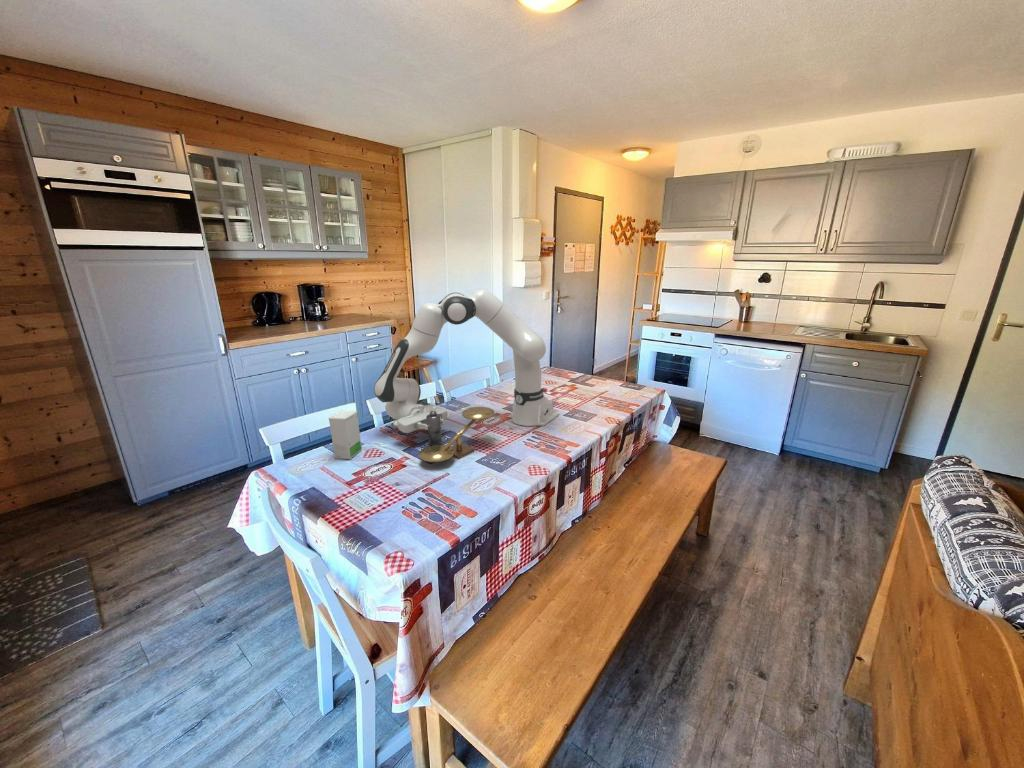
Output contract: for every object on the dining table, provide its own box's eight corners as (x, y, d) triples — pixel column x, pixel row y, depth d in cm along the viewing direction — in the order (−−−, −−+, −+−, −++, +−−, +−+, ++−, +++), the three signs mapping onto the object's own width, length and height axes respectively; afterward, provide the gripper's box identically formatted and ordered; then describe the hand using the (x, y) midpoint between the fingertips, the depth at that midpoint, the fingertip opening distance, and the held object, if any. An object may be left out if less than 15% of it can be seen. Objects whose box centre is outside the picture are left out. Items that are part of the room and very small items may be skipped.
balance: (480, 433, 165) (479, 404, 161) (501, 442, 157) (500, 411, 153) (412, 462, 142) (409, 429, 138) (434, 474, 134) (431, 439, 131)
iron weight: (436, 438, 159) (434, 408, 155) (444, 442, 156) (442, 411, 152) (425, 442, 156) (423, 412, 152) (434, 446, 152) (431, 415, 149)
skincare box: (350, 460, 144) (344, 419, 139) (333, 458, 145) (327, 417, 141) (362, 449, 152) (357, 410, 147) (346, 448, 153) (341, 409, 149)
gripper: (389, 415, 154) (411, 425, 145) (433, 401, 168) (455, 409, 159) (391, 431, 156) (412, 441, 147) (434, 415, 170) (456, 424, 161)
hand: (435, 424), depth 153 cm, fingers closed on iron weight, 5 cm apart
